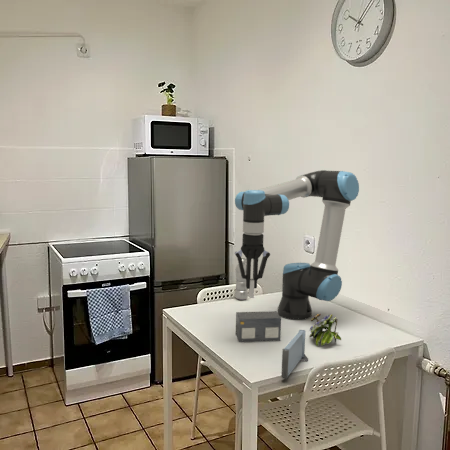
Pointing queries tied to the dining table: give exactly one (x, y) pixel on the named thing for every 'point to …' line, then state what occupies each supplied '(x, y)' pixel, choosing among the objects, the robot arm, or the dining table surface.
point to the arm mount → (304, 358)
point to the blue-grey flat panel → (293, 353)
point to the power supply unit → (258, 326)
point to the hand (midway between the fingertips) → (251, 296)
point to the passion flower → (327, 334)
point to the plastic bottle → (241, 283)
